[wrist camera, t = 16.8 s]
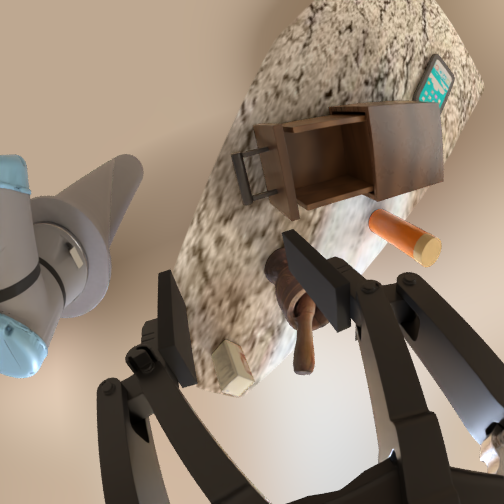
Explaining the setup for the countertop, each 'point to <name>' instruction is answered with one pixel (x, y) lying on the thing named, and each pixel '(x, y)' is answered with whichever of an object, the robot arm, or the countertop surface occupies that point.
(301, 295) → the mortar and pestle
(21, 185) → the robot arm
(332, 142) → the drawer
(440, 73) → the smartphone
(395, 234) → the spice jar
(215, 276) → the countertop surface
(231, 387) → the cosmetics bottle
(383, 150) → the cabinet
